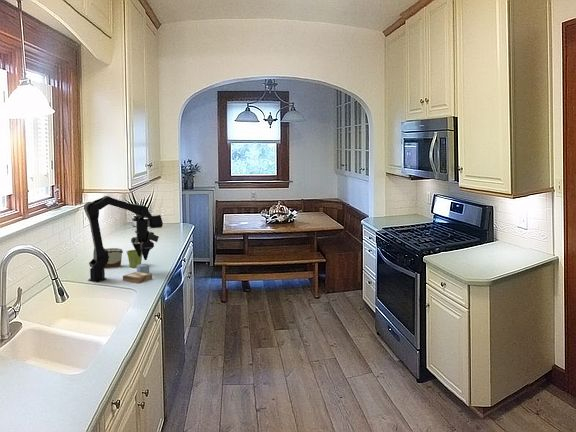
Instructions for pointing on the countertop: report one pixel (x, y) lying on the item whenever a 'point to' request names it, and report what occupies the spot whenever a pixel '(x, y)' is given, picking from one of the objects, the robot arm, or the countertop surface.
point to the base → (137, 277)
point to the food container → (114, 258)
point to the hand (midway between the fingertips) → (142, 258)
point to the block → (143, 268)
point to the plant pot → (134, 258)
